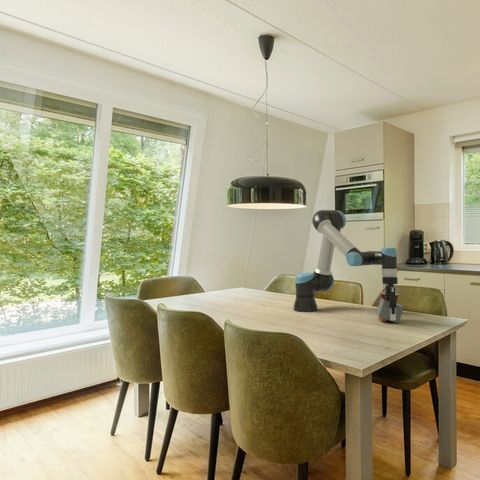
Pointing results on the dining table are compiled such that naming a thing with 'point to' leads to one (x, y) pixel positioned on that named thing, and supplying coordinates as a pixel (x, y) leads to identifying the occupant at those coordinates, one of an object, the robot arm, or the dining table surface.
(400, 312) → the trap cup
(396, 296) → the plastic cup
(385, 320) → the ball
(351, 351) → the dining table surface
